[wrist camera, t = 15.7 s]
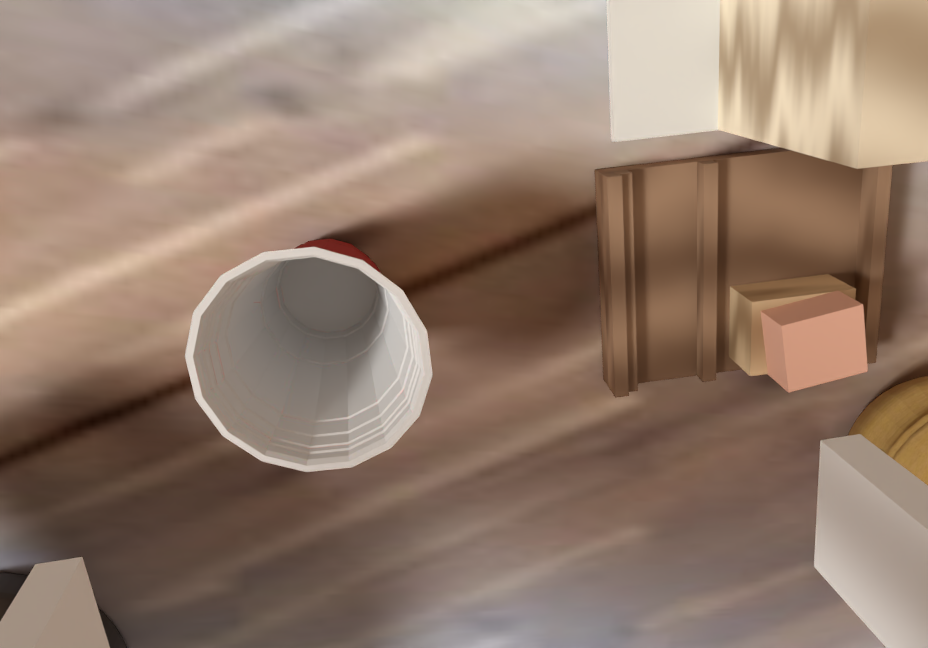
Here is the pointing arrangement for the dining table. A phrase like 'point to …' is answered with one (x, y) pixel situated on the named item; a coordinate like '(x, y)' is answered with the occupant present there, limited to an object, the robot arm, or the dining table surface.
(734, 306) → the offcut oak
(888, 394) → the pot
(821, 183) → the rack
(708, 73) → the white mat
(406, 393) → the plastic cup
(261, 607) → the dining table surface
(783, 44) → the birch block
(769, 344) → the offcut terracotta
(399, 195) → the dining table surface
